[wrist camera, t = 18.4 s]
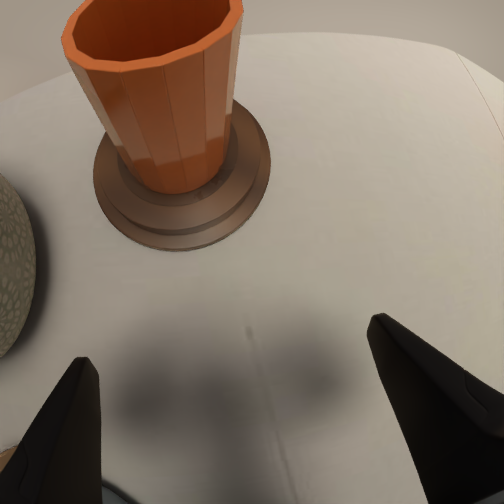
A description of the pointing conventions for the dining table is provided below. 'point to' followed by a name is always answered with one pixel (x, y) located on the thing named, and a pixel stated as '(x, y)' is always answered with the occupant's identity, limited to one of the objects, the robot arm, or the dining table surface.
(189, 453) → the dining table surface
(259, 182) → the stand
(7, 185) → the planter
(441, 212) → the dining table surface
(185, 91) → the cup
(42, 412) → the robot arm
